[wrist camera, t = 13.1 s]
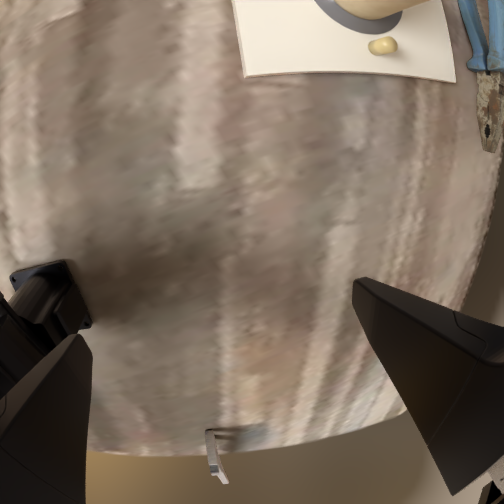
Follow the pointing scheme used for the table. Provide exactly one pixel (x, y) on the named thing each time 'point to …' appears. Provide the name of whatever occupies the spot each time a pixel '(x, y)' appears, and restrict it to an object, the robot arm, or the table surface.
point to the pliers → (487, 68)
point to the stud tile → (342, 40)
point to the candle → (376, 7)
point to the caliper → (214, 457)
